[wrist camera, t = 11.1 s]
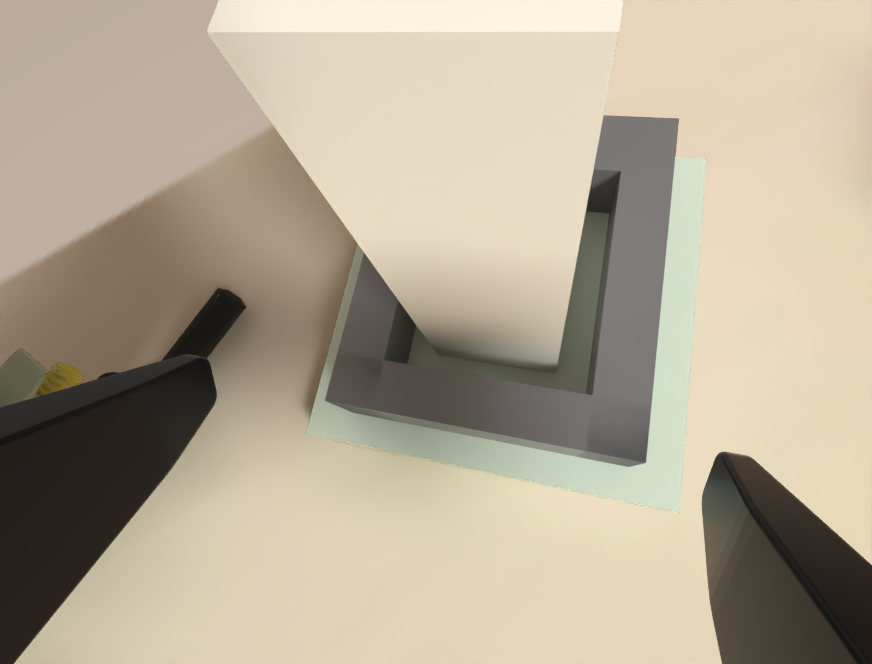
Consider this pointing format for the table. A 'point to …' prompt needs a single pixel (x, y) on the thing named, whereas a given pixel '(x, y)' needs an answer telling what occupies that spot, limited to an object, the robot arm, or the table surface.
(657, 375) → the socket board
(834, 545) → the robot arm
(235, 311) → the handheld radio
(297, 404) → the table surface
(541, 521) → the table surface
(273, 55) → the plug
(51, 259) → the table surface
